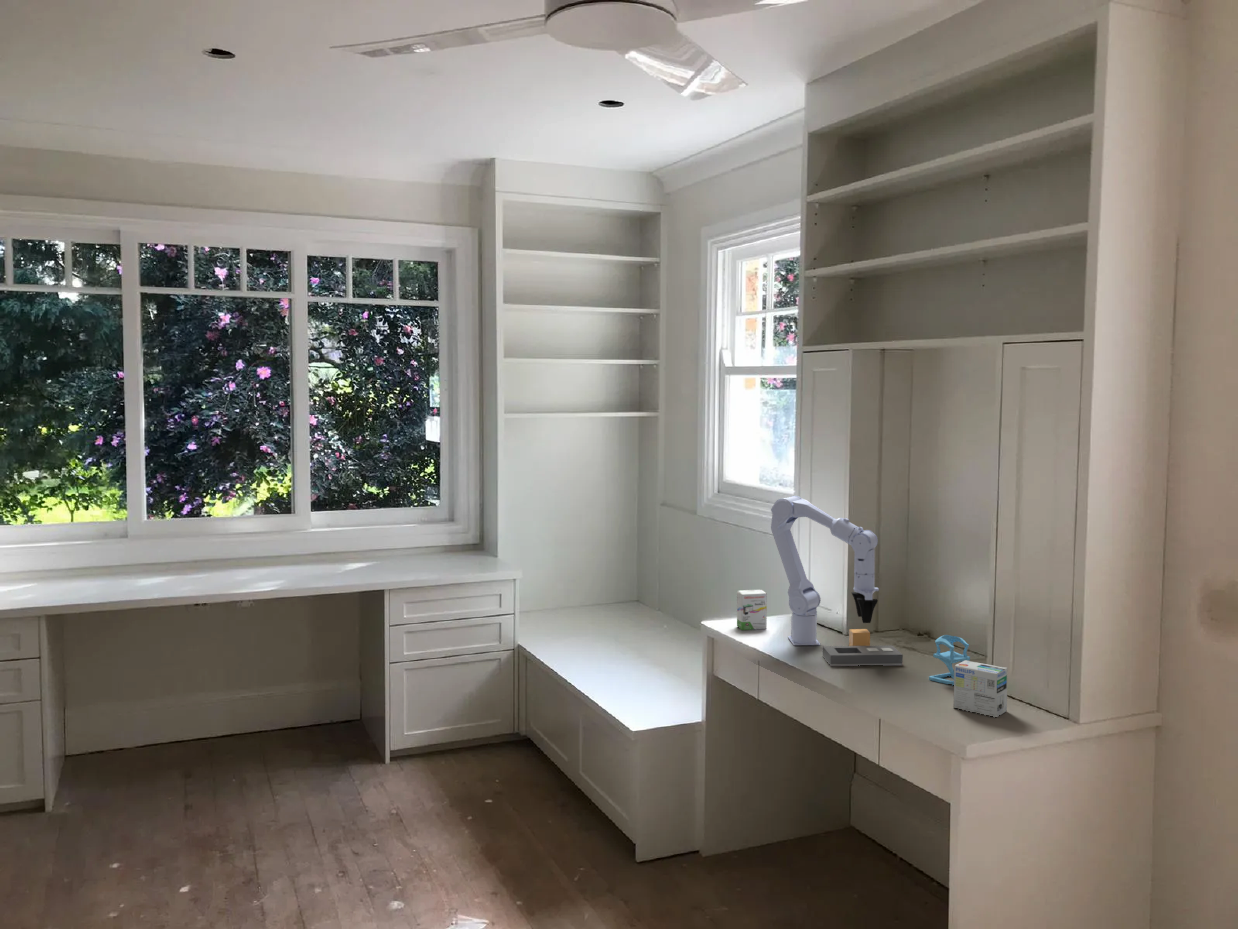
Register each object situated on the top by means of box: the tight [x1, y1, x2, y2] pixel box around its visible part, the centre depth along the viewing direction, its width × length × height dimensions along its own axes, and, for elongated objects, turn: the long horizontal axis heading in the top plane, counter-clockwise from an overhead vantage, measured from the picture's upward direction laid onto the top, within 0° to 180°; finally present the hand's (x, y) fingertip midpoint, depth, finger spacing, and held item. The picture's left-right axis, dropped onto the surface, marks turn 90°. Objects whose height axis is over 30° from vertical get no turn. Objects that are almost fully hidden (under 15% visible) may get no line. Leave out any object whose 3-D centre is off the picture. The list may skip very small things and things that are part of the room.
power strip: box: [822, 644, 904, 667], centre depth 277 cm, size 10×20×3 cm, turn 91°
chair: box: [928, 634, 971, 686], centre depth 257 cm, size 8×8×12 cm
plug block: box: [848, 628, 871, 646], centre depth 287 cm, size 4×5×6 cm
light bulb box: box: [952, 660, 1008, 718], centre depth 236 cm, size 11×7×11 cm, turn 48°
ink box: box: [736, 589, 768, 631], centre depth 314 cm, size 8×5×12 cm, turn 101°
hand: (864, 619), depth 285 cm, fingers open, 7 cm apart
